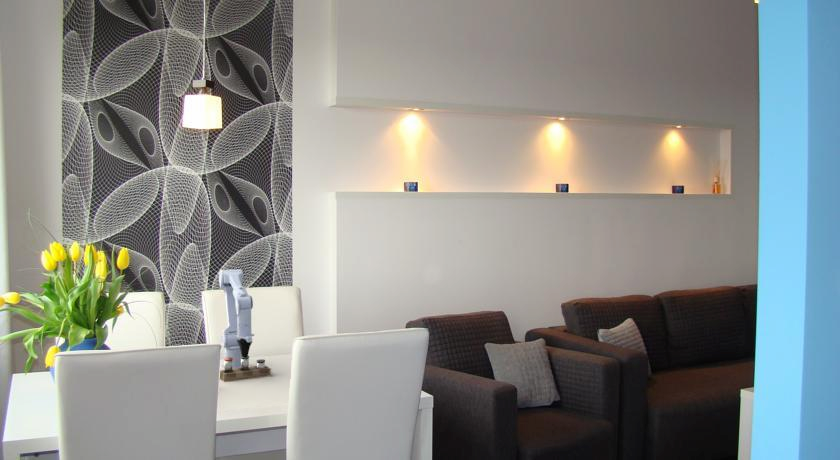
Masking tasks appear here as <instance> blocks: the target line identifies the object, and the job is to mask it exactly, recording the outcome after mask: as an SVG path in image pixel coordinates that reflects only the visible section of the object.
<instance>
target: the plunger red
mask: <svg viewBox="0 0 840 460" xmlns="http://www.w3.org/2000/svg"><path fill="white" fill-rule="evenodd" d="M232 360H233V358H231V357H228V358H225V357H223V361H224V365H225V367H224V370H225V372H232V371H233V369H232Z"/></svg>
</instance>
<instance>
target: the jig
mask: <svg viewBox="0 0 840 460" xmlns="http://www.w3.org/2000/svg"><path fill="white" fill-rule="evenodd" d="M270 376H272V368H270V367H269V366H267V365H265V368H263V369H257V365H255V366H249V370H241V368H236V369H233V371H232V372H225V369H220V378H219V379H220V380H221V381H223V382H232V381H239V380H247V379H254V378H262V377H270Z"/></svg>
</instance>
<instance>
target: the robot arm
mask: <svg viewBox="0 0 840 460" xmlns="http://www.w3.org/2000/svg"><path fill="white" fill-rule="evenodd" d="M218 281H219V288H220V290H222V291H224V297H225V298H224V300H225V309H226V319H227V326H226V327H225V328H224V329H223V330H222V333H221V345H222V347H223V348H224V349H225V350H224V355H223V356H224V358H228V357H231V358H233V360H232V369H236V368H241V358H240V357H241V356H242V357H247V356H249V352H250V348H251V346H252V343H253V337H255V334H254V333H252V310H253V308H254V300H253V297H252V295H250V294H248V291H247V288H246V287H245V286H243V284H242V283H243V281H244V272H243V270H242V269H241V268H239V269H220V271H219V273H218ZM222 367H223V368H225V364H222Z"/></svg>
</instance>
